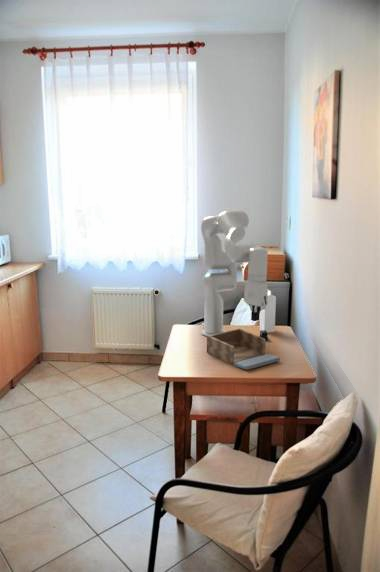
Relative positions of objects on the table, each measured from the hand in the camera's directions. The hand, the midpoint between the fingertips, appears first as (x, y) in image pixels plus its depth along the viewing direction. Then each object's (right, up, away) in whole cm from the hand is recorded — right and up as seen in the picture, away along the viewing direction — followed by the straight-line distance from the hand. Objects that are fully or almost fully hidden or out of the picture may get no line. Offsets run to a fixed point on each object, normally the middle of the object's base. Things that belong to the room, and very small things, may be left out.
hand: (255, 320), depth 194 cm
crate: (-7, -16, +14) cm, 23 cm away
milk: (+13, -9, +48) cm, 51 cm away
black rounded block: (+9, -13, +35) cm, 38 cm away
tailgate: (-1, -18, +5) cm, 19 cm away
